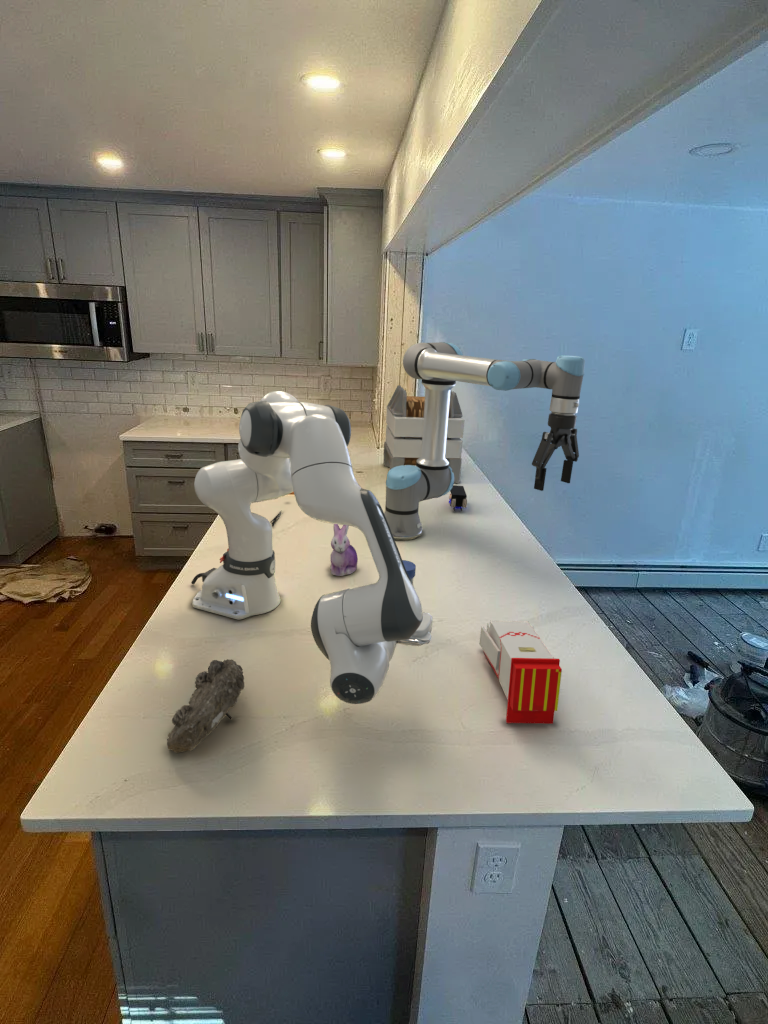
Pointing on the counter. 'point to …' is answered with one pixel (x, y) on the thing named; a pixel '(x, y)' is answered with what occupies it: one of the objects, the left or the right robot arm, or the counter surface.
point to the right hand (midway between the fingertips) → (552, 485)
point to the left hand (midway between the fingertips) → (387, 603)
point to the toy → (523, 670)
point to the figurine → (342, 553)
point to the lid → (410, 568)
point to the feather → (275, 519)
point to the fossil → (206, 705)
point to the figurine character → (458, 497)
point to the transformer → (419, 431)
